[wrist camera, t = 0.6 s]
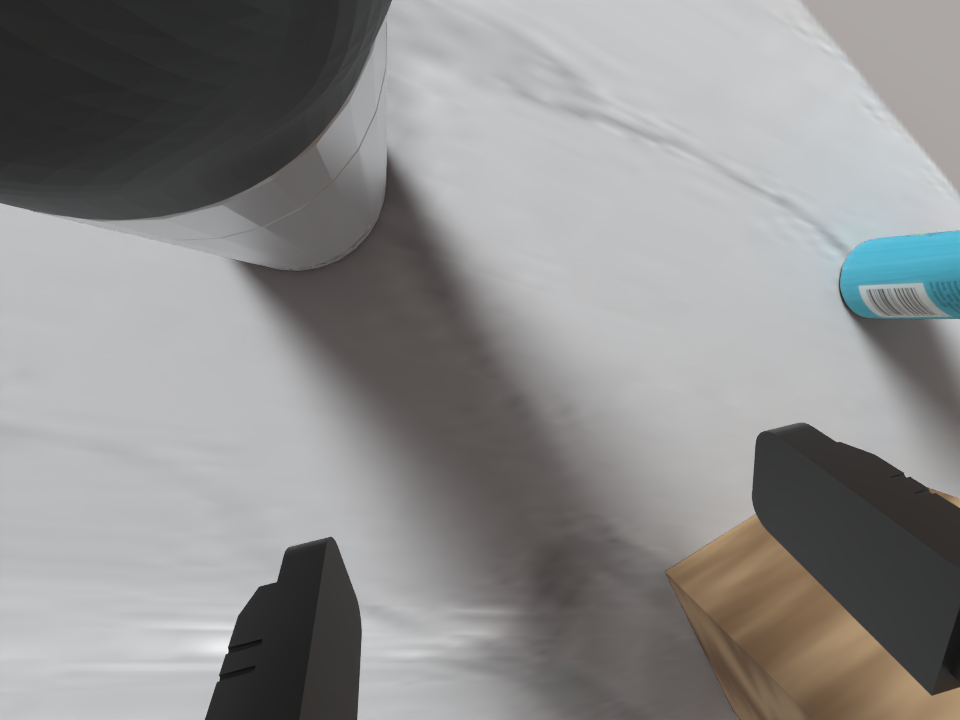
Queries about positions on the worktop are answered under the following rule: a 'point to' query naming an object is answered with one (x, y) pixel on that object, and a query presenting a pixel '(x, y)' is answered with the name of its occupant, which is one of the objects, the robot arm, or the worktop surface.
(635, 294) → the worktop surface
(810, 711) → the post
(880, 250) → the tube
